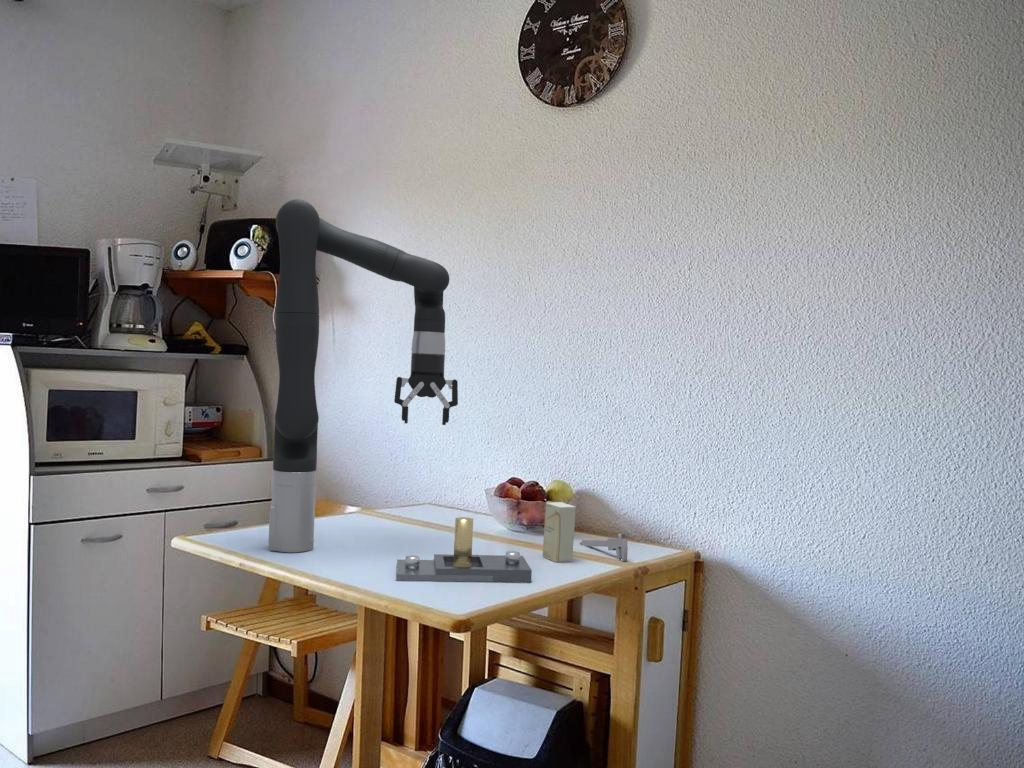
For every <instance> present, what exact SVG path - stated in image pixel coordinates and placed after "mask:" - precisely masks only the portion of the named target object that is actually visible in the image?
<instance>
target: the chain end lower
mask: <svg viewBox="0 0 1024 768" xmlns="http://www.w3.org/2000/svg"><path fill="white" fill-rule="evenodd" d="M420 558H421V557H420V556H419V555H414V554H413V555H405V559H396V561H397V563H396V581H397V582H398V581H403V582H404V581H405V582H406V581H407V582H409V581H410V582H463V583H464V582H469V583H472V582H474V583H479V582H480V583H494V582H493V576H475V575H436V571H435V564H434V559H420ZM444 564H445V567H453V562H444ZM471 567H481V566H480V563H471Z"/></svg>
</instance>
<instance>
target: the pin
mask: <svg viewBox="0 0 1024 768" xmlns="http://www.w3.org/2000/svg"><path fill="white" fill-rule="evenodd" d="M473 530H474V518H472V517H468V516H467V517H465V516H462V517H461V516H458V517H455V518H454V539H453V540H454V542H453V555H454V562H453V567H471V562H472V555H473V537H474V535H473V533H474V532H473Z"/></svg>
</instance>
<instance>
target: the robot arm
mask: <svg viewBox="0 0 1024 768" xmlns="http://www.w3.org/2000/svg"><path fill="white" fill-rule="evenodd" d="M275 229H276V232H277V235H278V245H279V261H280V263H279V275H278V282H277V288H276V289H277V290H276V298H275V312H274V313H275V314H274V315H275V317H274V319H275V321H274V323H275V325H274V326H275V328H274V330H275V331H274V332H275V343H276V344H275V345H276V346H275V348H276V355H277V363H278V372H279V374H278V375H279V379H278V380H279V381H278V392H277V393H278V395H277V402H276V403H277V404H276V410H275V414H274V437H273V438H274V439H273V440H274V443H273V444H274V445H273V454H272V455H273V457H272V458H273V459H272V463H273V464H272V483H271V484H272V486H271V487H272V488H271V489H272V490H271V492H272V493H271V505H270V507H269V517H268V518H269V522H268V523H269V524H268V546H267V551H274V552H280V553H301V552H302V553H303V552H308V551H311V550H313V549H314V541H315V538H314V537H315V536H314V535H315V519H316V518H315V513H316V512H315V511H316V492H317V464H318V463H317V462H318V433H319V431H318V430H319V417H320V416H319V411H318V405H317V398H316V397H317V395H316V385H315V384H316V383H315V382H316V381H315V376H316V375H315V374H316V373H315V372H316V364H317V357H318V350H319V349H318V348H319V339H320V337H319V336H320V302H319V301H320V300H319V288H318V281H317V270H316V269H317V268H316V263H317V262H316V260H317V259H316V256H317V252H321V253H325V254H327V255H331V256H333V257H336V258H339V259H341V260H343V261H345V262H346V261H347V262H348V263H351V264H353V265H356V266H358V267H360V268H363V269H365V270H367V271H369V272H371V273H374V274H376V275H379V276H381V277H384V278H385V279H389V280H391V281H394V282H401V283H405V284H406V285H409V286H412V287H413V297H414V298H413V299H414V300H413V301H414V316H413V317H414V319H413V320H414V321H413V335H412V341H411V359H410V375H409V378H407V377H401V376H397V378H396V381H395V382H396V383H395V392H394V399H393V401H394V403H395V404H397V405H399V406H401V420H402V422H404V424H408V423H409V422H408V421H409V406H408V405H409V404H410V403H411V402H412V400H413V399H415V397H416V396H417V397H418V398H426V397H427V398H432V399H433V398H435V397H437V398H438V400H439V401H440V402H441V404H442V405H443V408H442V420H441V421H442V422H441V425H442V426H446V425H447V423H449V420H450V409H451V408H453V407H457V406H458V405H459V403H458V402H459V395H458V394H459V393H458V392H459V390H458V388H459V386H458V384H459V383H458V380H457V379H455V378H454V379H446V378H445V363H446V362H445V361H446V358H445V357H446V334H445V332H446V311H445V309H444V291H445V290H446V289H447V288H448V286H449V283H450V274H449V271H448V270H447V269H446V268H445V266H443V265H441V264H440V263H438V262H435V261H433V260H431V259H427V258H425V257H421V256H418V255H414V254H410V253H408V252H406V251H404V250H402V249H400V248H397V247H396V246H393V245H391V244H388V243H385V242H383V241H380V240H378V239H374V238H372V237H367V236H365V235H360V234H357V233H354V232H350V231H347V230H345V229H343V228H340V227H337V226H335V225H333V224H331V223H329V222H328V221H326V220H324V219H323V218H321V217H320V215H319V213H318V211H317V210H316V209H315V207H314V205H312V204H311V203H310V202H308V201H306V200H304V199H299V198H295V199H291V200H289V201H287V202H285V203H284V204H283V205H282V206H281V207H280V208H279V209H278V212H277V213H276V217H275ZM406 384H408V385H409V387H410V388H411V389H412V390H411V392H409V394H408V395H407V396H406V398H405V399H402V398H401V392H402V388H404V387H406ZM446 385H447V387H448V389H449V390H451V400H450V401H448V400H447V398H446V397H445V396H444V394H443V393H442V390H443V389H444V388H445V386H446Z"/></svg>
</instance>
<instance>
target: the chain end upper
mask: <svg viewBox="0 0 1024 768" xmlns="http://www.w3.org/2000/svg"><path fill="white" fill-rule="evenodd" d="M433 560H434V564H435V571H436V575H475V576H493V582H492V583H532V574H533V573H532V571H533V569H532V568H531V566H530V565H529V563H528V562H527V560H526V559H525V557H524V555H521V553H520V551H516V550H515V551H514V550H510V551H509V550H507V551H506V552H505V555H498V554H495V555H493V554H492V555H490V554H487V555H486V554H484V555H483V554H472V562H471V563H480V566H481V567H445V564H444V562H454V554H445V553H444V554H442V553H441V554H440V553H439V554H435V553H434V554H433Z"/></svg>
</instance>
